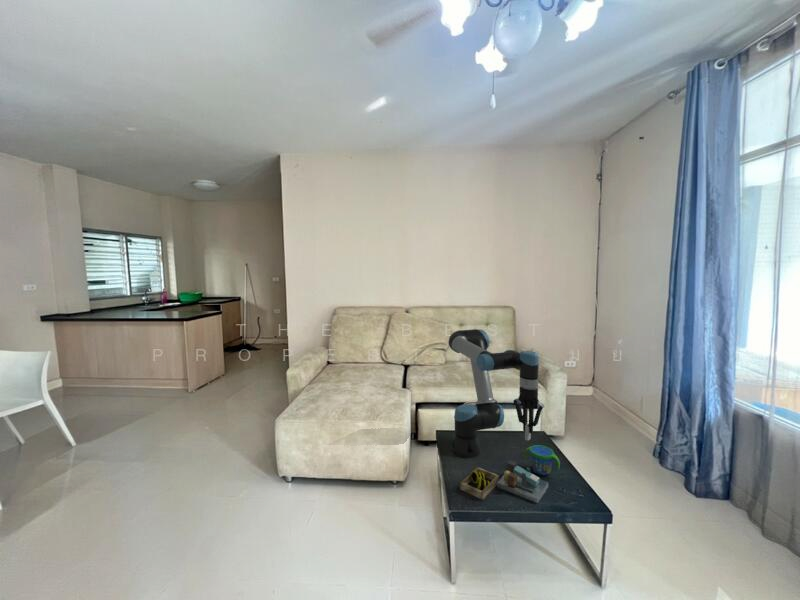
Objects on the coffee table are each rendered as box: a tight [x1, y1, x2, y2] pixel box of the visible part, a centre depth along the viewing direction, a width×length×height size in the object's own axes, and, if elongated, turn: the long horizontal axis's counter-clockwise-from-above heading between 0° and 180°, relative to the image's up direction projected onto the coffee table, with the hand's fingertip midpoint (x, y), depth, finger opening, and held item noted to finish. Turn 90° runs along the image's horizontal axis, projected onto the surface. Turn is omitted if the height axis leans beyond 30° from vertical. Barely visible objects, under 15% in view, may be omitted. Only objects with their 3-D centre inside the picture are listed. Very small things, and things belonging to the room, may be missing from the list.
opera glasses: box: [470, 470, 490, 491], centre depth 142 cm, size 10×5×5 cm, turn 9°
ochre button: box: [503, 470, 510, 480], centre depth 144 cm, size 3×3×2 cm
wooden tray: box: [459, 467, 500, 501], centre depth 142 cm, size 11×16×3 cm
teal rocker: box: [513, 465, 541, 487], centre depth 141 cm, size 10×4×2 cm, turn 49°
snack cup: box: [523, 444, 561, 476], centre depth 152 cm, size 16×10×10 cm
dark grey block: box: [507, 460, 517, 473], centre depth 148 cm, size 3×3×4 cm
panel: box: [496, 467, 549, 504], centre depth 141 cm, size 17×14×7 cm
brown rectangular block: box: [508, 472, 517, 487], centre depth 139 cm, size 3×3×4 cm
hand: (527, 439), depth 144 cm, fingers closed
